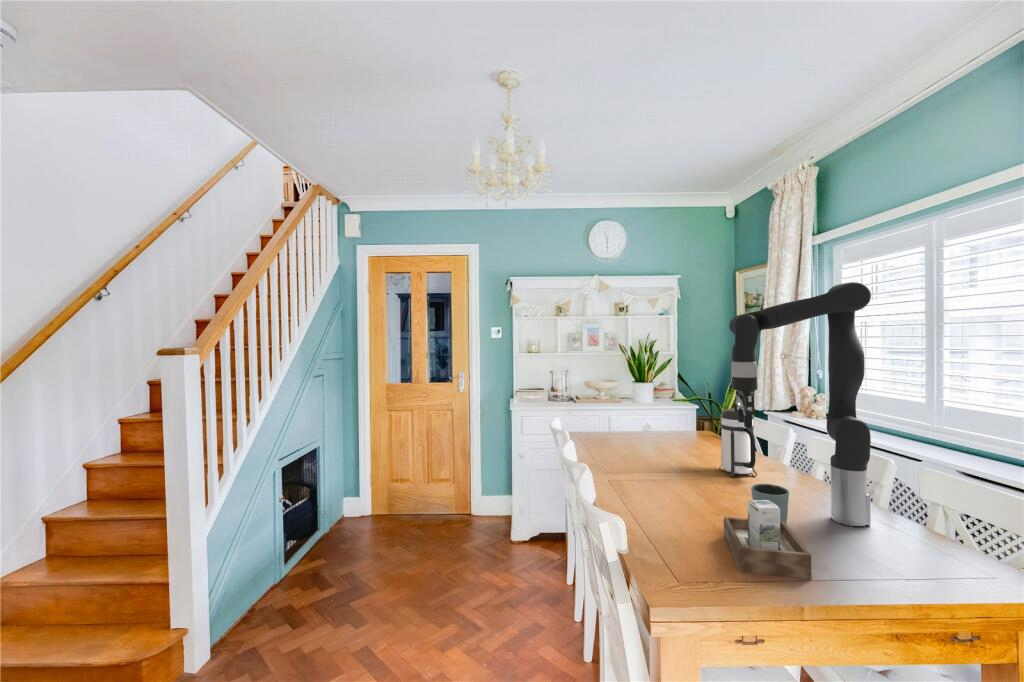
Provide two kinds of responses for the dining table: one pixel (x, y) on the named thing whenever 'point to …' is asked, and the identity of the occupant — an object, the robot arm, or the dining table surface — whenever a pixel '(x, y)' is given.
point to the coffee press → (737, 444)
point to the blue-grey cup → (773, 497)
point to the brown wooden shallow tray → (767, 552)
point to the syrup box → (763, 525)
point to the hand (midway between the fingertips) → (744, 424)
